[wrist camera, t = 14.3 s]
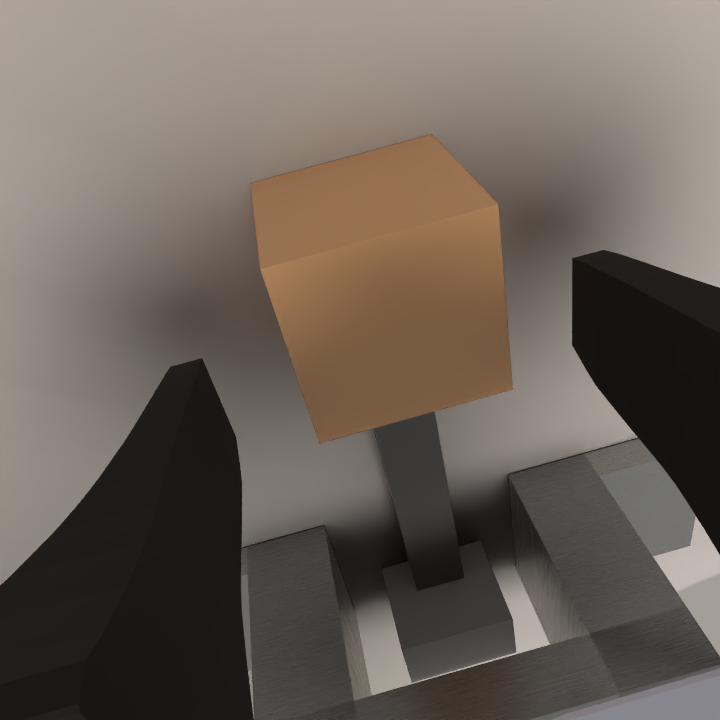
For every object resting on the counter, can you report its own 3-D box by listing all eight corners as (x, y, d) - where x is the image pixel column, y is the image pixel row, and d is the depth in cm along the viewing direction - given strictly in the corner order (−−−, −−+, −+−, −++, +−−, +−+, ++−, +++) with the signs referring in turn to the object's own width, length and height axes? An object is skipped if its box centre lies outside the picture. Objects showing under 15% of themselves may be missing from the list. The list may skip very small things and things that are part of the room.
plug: (492, 572, 23) (536, 679, 20) (385, 603, 23) (412, 716, 20) (431, 134, 14) (497, 204, 10) (250, 183, 14) (260, 269, 10)
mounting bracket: (673, 523, 23) (818, 719, 18) (192, 659, 23) (184, 904, 17) (689, 424, 20) (868, 621, 15) (136, 577, 20) (104, 842, 14)
